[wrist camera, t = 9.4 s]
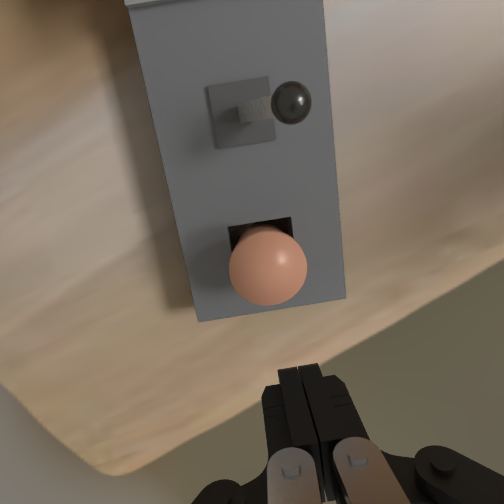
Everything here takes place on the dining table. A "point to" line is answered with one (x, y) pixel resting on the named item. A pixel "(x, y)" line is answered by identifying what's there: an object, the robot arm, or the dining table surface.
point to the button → (267, 265)
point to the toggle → (279, 105)
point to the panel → (242, 137)
